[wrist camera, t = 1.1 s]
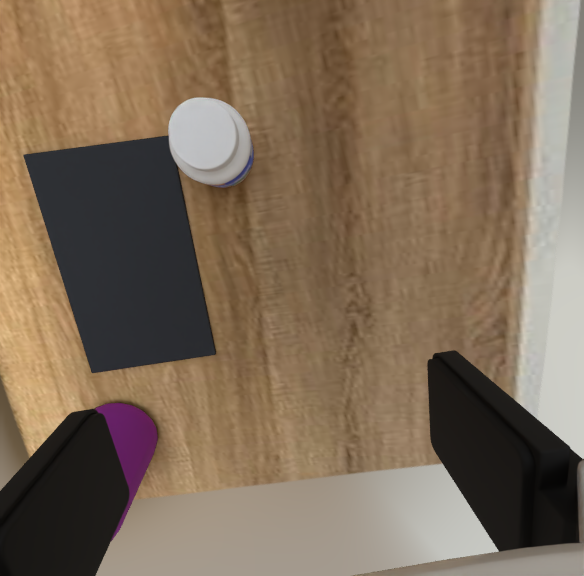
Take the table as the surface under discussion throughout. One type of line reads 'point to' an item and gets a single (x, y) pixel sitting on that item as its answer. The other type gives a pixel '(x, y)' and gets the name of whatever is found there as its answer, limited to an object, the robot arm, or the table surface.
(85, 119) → the table surface
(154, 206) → the desk mat
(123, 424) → the beverage can
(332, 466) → the table surface
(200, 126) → the pill bottle
